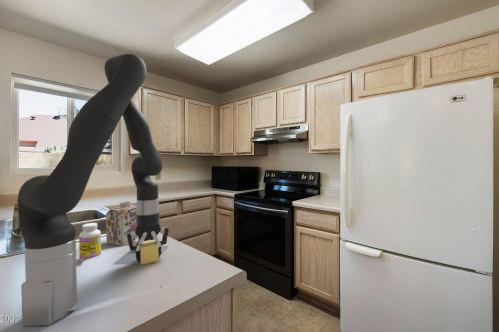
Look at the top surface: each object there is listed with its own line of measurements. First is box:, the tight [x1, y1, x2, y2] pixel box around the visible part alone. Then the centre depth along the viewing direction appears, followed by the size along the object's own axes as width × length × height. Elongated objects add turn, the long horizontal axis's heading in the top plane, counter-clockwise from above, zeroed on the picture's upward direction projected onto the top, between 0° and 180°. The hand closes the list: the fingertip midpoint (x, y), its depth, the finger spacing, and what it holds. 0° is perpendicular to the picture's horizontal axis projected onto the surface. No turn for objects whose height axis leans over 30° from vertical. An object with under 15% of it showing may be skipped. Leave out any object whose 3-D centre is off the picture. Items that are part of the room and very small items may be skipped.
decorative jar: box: [105, 201, 139, 247], centre depth 103 cm, size 12×12×18 cm
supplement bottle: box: [78, 222, 102, 262], centre depth 85 cm, size 7×7×13 cm
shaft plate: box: [113, 239, 170, 265], centre depth 86 cm, size 16×14×5 cm
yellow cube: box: [140, 239, 159, 266], centre depth 81 cm, size 6×6×6 cm
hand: (148, 258), depth 81 cm, fingers closed on yellow cube, 5 cm apart
